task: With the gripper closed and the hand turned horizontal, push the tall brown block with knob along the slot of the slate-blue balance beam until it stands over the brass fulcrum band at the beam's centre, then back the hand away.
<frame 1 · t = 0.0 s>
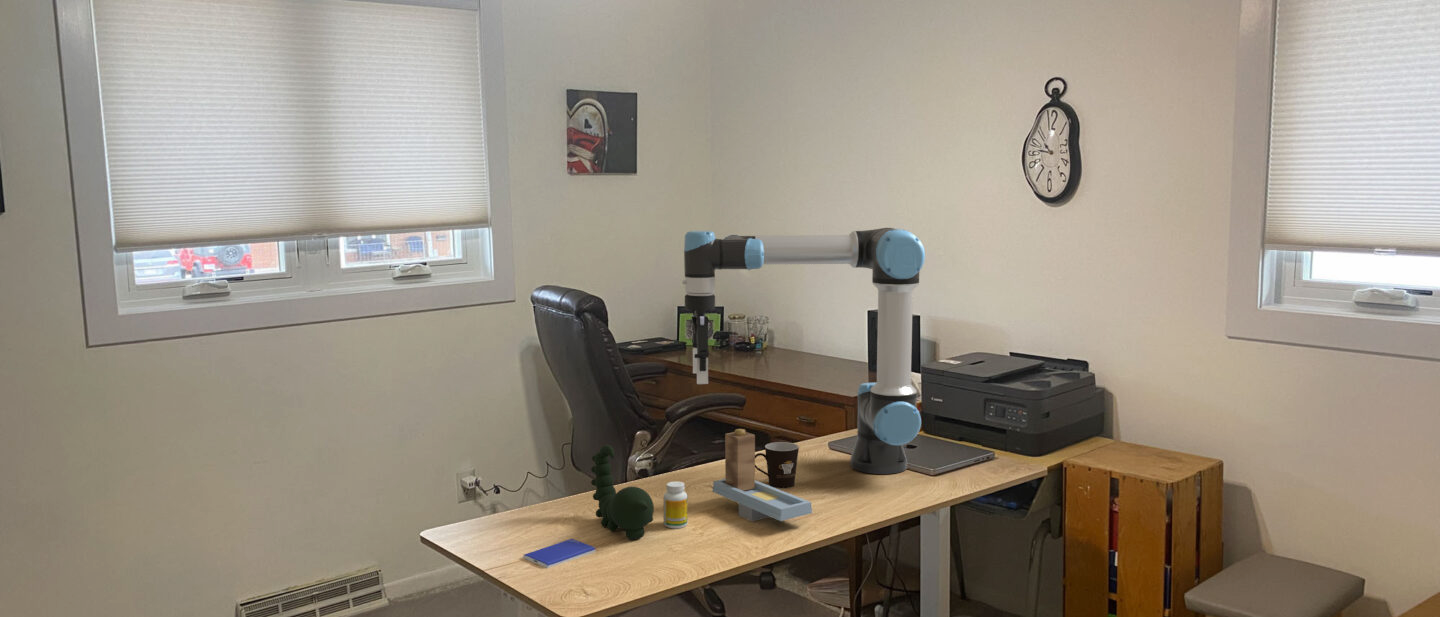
hand: (700, 378, 257), 28 cm above the table, tool pointing down, fingers open, 13 cm apart
hard drive: (559, 558, 215), on the table
coffee mug: (775, 485, 263), on the table
brown block with knob: (740, 458, 245), point 12 cm above the table, slide at 0.0 cm
beam: (760, 514, 240), on the table
toy figurine: (622, 531, 230), on the table
supplement bottle: (675, 525, 233), on the table
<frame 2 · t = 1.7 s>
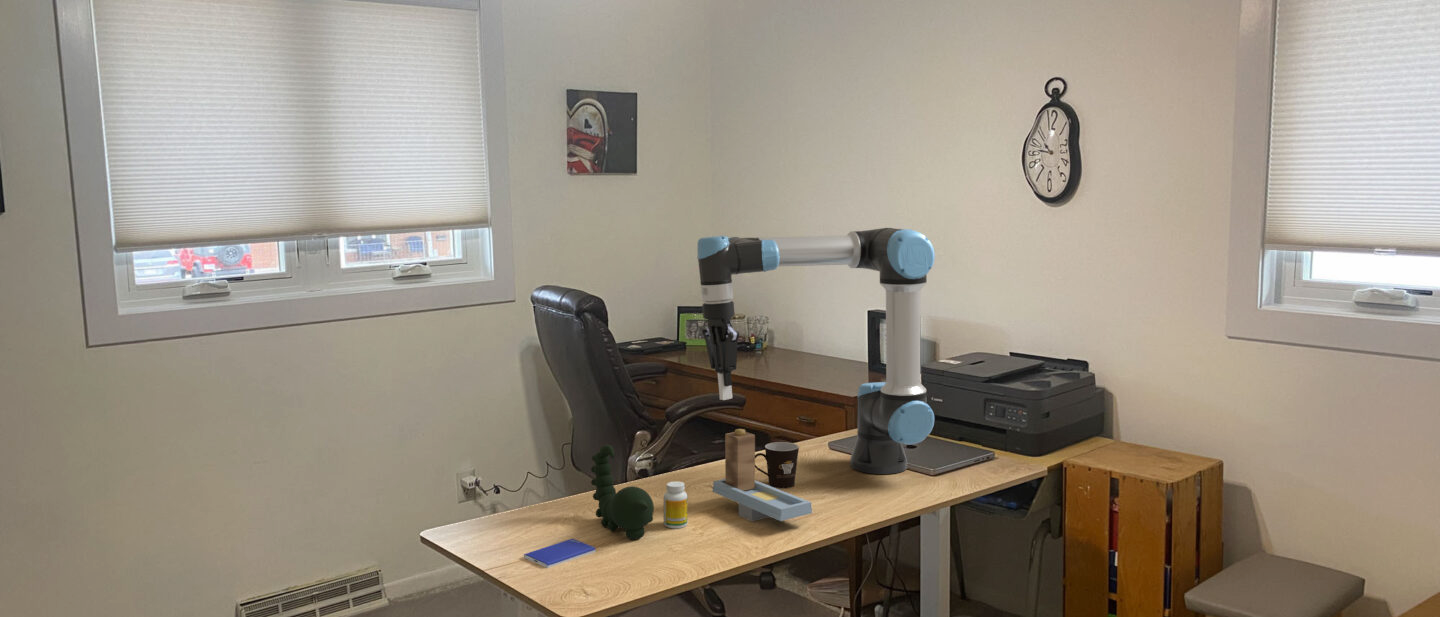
hand: (726, 398, 248), 25 cm above the table, tool pointing down, fingers closed
nothing on the table moved.
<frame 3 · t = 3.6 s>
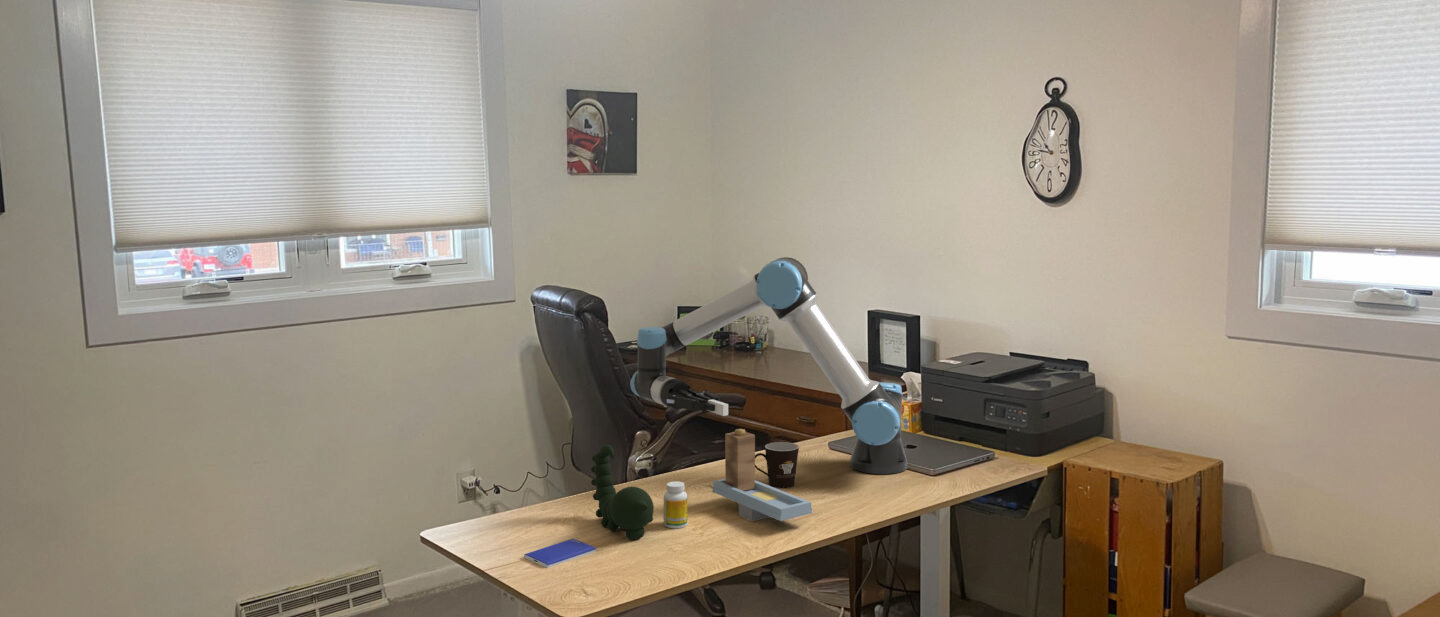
hand: (725, 410, 248), 22 cm above the table, tool horizontal, fingers closed
nothing on the table moved.
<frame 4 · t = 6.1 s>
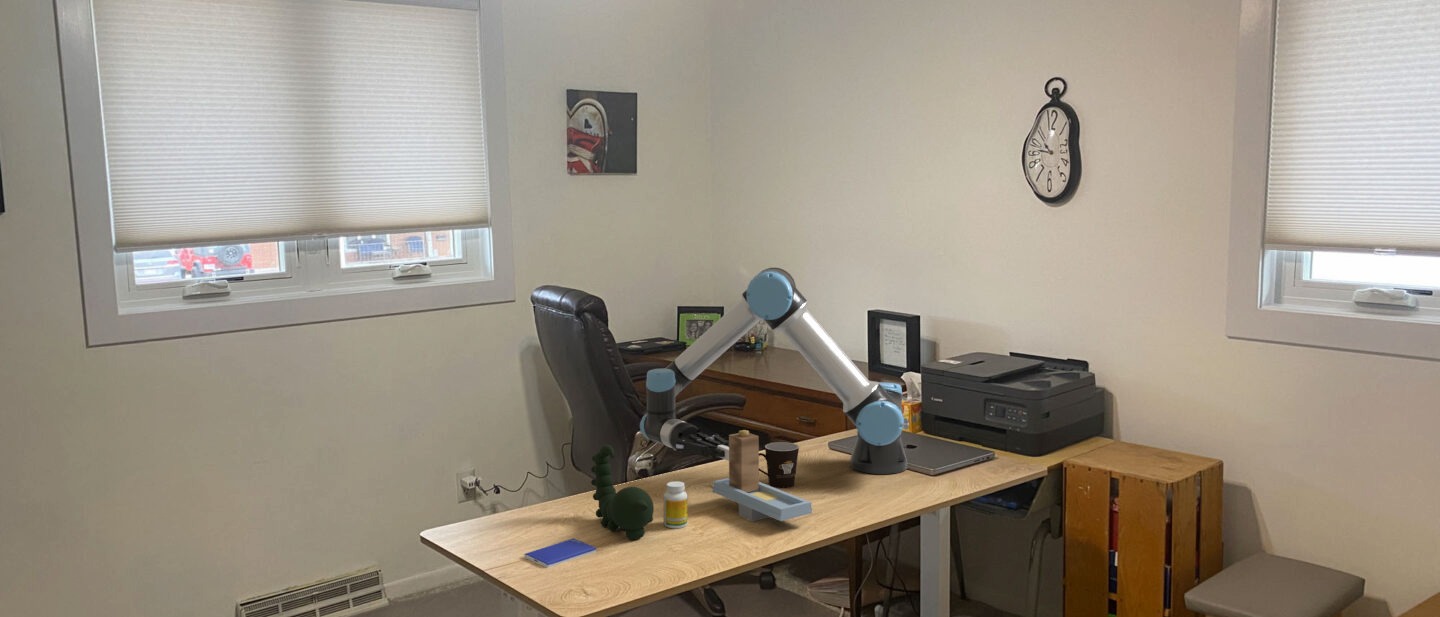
hand: (735, 456, 245), 12 cm above the table, tool horizontal, fingers closed
brown block with knob: (743, 460, 243), point 12 cm above the table, slide at 1.5 cm, touching gripper
everything else where it was.
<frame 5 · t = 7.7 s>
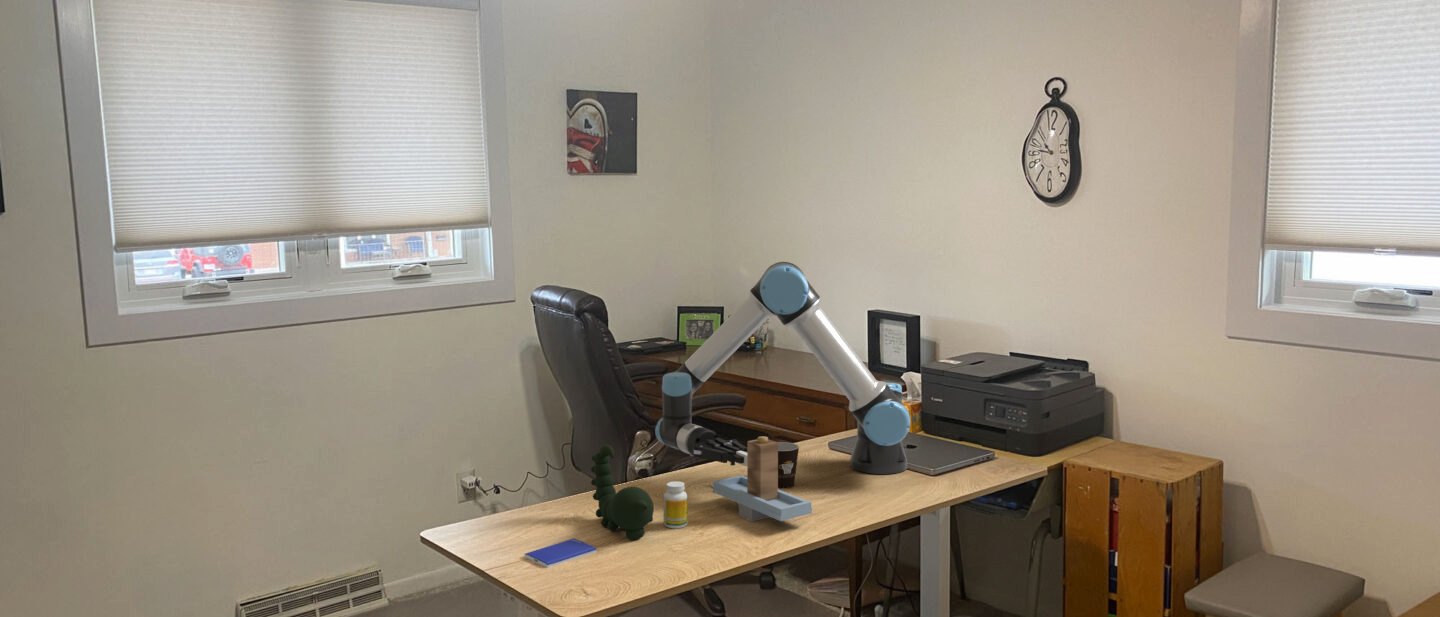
hand: (755, 462, 240), 12 cm above the table, tool horizontal, fingers closed
brown block with knob: (762, 467, 238), point 12 cm above the table, slide at 8.7 cm, touching gripper
everything else where it was.
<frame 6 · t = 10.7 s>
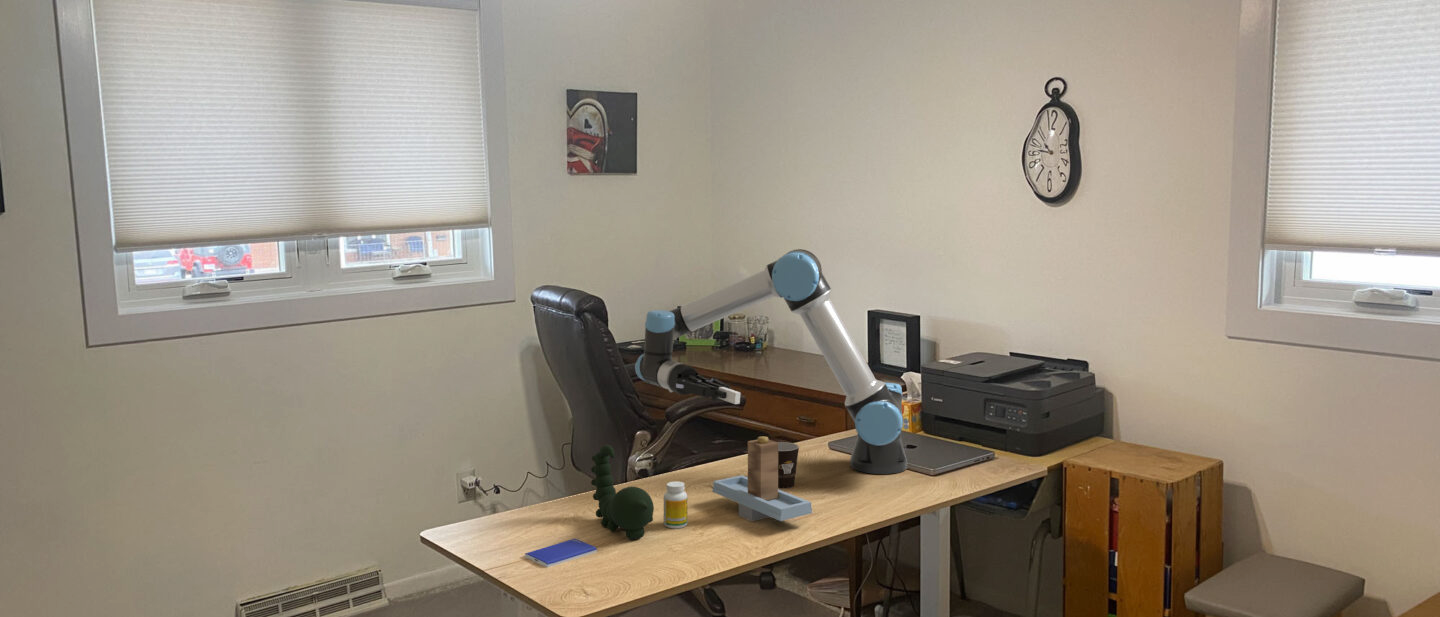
hand: (737, 398, 246), 25 cm above the table, tool horizontal, fingers closed
brown block with knob: (762, 467, 238), point 12 cm above the table, slide at 8.8 cm
everything else where it was.
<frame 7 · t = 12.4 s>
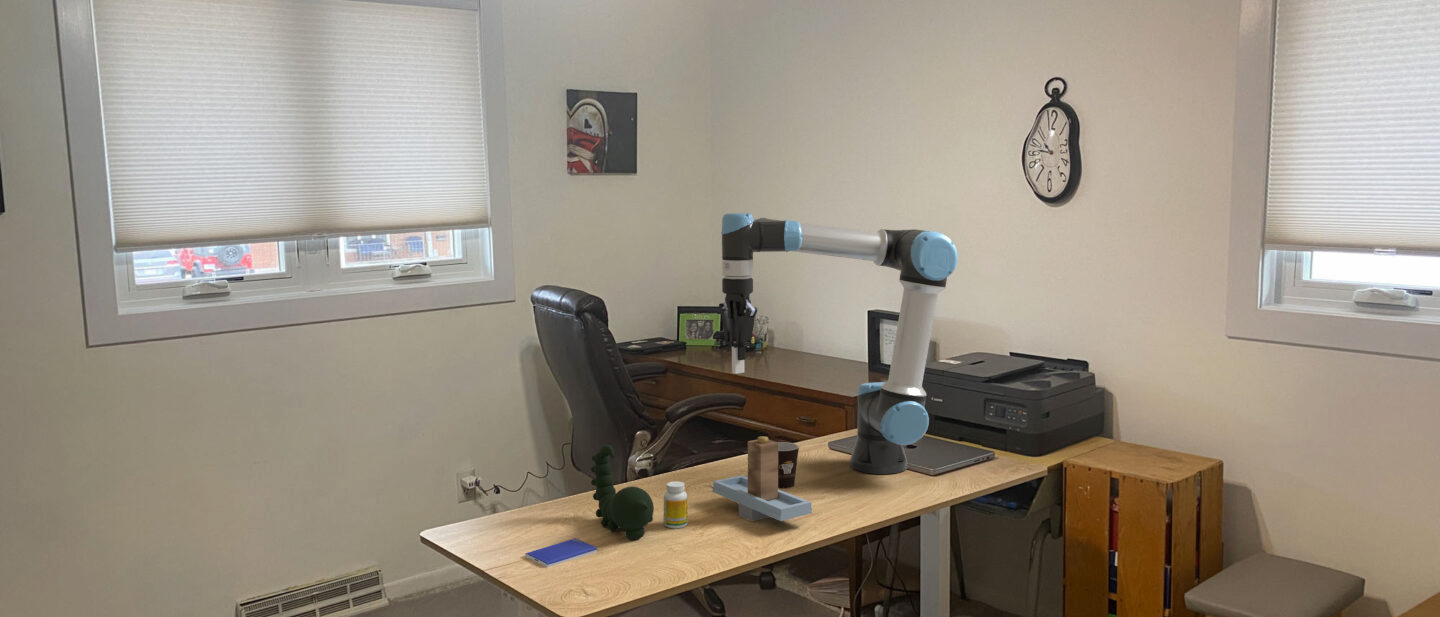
hand: (738, 372, 253), 30 cm above the table, tool pointing down, fingers closed
nothing on the table moved.
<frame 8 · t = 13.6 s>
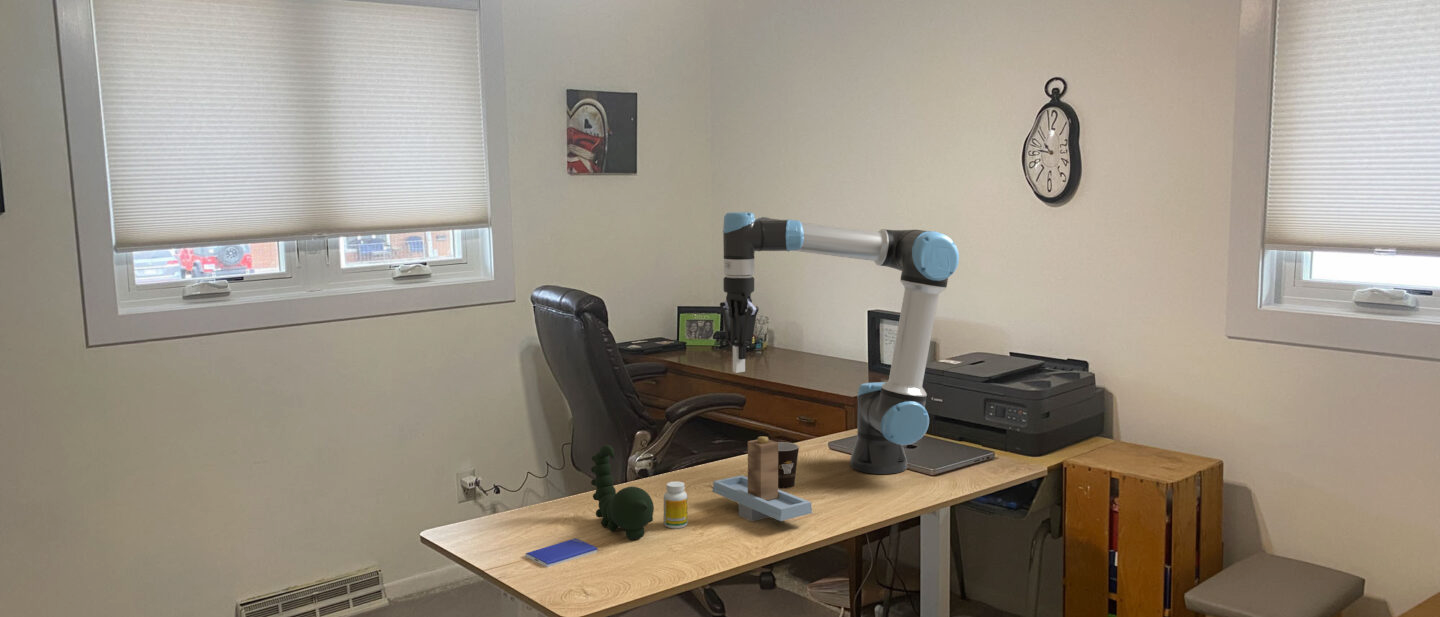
hand: (738, 371, 253), 30 cm above the table, tool pointing down, fingers closed
nothing on the table moved.
at the end: brown block with knob slide at 8.8 cm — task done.
